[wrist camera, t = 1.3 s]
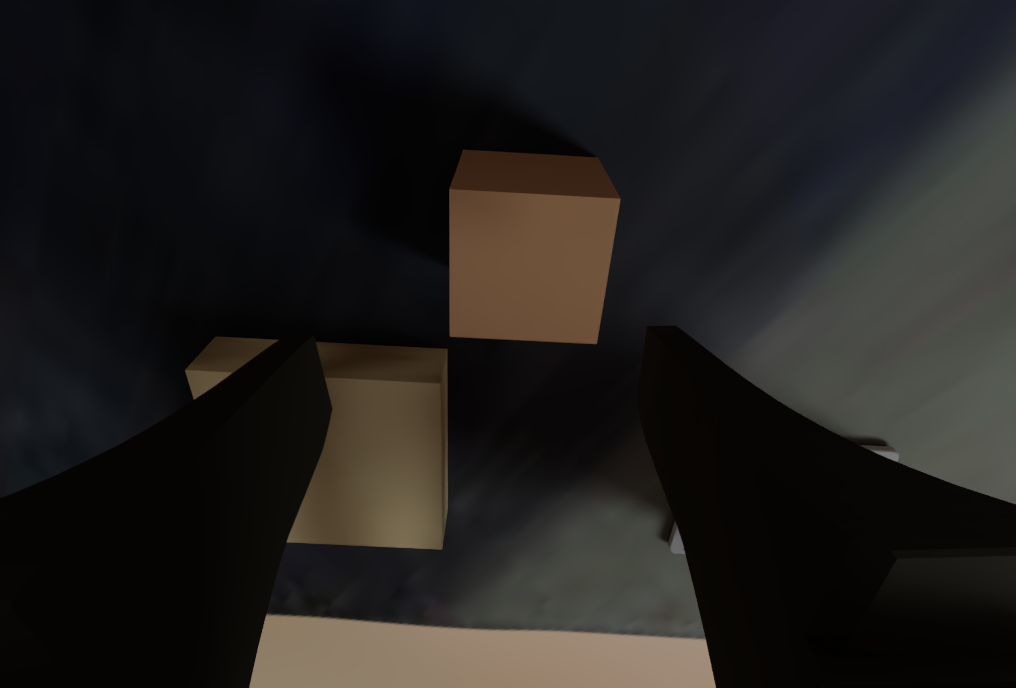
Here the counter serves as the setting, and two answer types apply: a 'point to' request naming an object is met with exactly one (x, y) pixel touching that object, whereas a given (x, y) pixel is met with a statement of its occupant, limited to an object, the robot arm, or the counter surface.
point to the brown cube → (530, 246)
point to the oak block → (366, 442)
